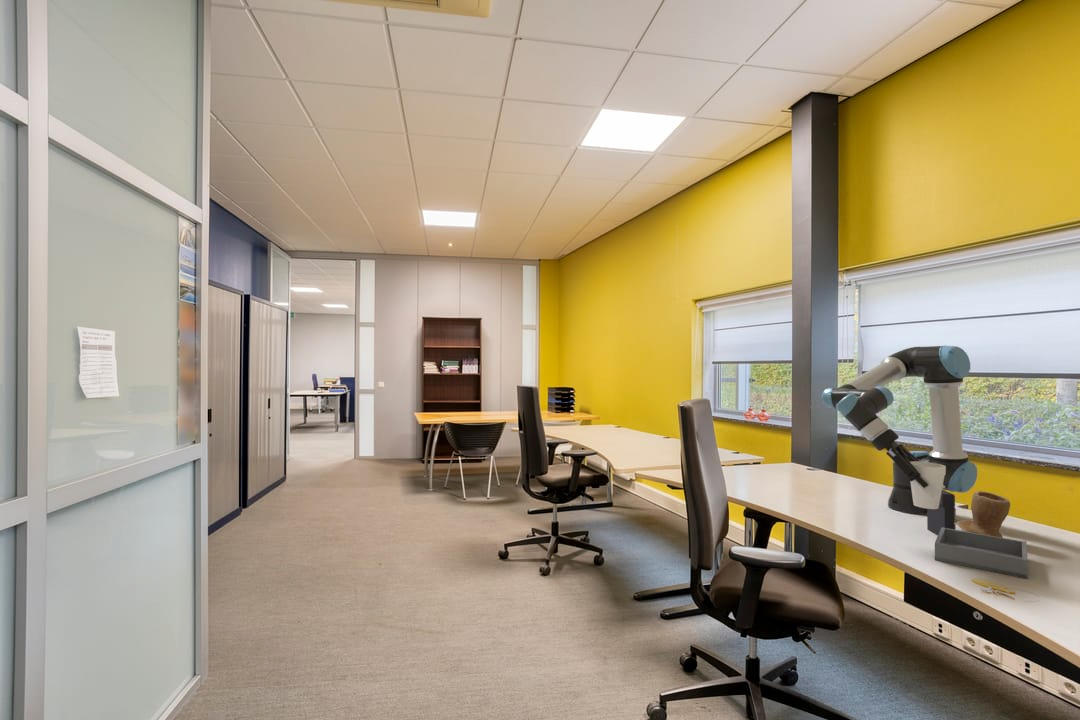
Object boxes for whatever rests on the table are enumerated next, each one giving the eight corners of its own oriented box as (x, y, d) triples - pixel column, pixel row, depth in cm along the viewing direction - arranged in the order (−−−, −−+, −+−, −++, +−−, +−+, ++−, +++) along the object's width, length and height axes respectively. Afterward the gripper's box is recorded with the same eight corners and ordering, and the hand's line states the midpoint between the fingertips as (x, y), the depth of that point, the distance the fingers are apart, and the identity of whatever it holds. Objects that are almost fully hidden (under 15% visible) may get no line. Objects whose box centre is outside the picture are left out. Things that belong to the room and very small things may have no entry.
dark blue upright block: (957, 540, 171) (957, 494, 171) (942, 539, 171) (942, 494, 172) (939, 530, 181) (939, 487, 181) (925, 529, 182) (925, 486, 182)
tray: (941, 542, 168) (941, 527, 168) (1026, 558, 155) (1026, 541, 155) (934, 559, 154) (934, 542, 154) (1027, 579, 140) (1027, 560, 140)
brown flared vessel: (1015, 547, 165) (1015, 499, 165) (968, 541, 170) (968, 495, 170) (999, 533, 178) (999, 489, 178) (956, 528, 184) (956, 485, 184)
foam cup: (951, 511, 157) (952, 468, 157) (917, 509, 158) (918, 466, 158) (934, 503, 166) (934, 462, 166) (901, 501, 168) (902, 460, 168)
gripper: (877, 438, 181) (933, 492, 170) (861, 445, 165) (922, 506, 154) (896, 424, 177) (954, 479, 166) (881, 430, 161) (945, 491, 150)
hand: (939, 492), depth 160 cm, fingers closed on foam cup, 9 cm apart
